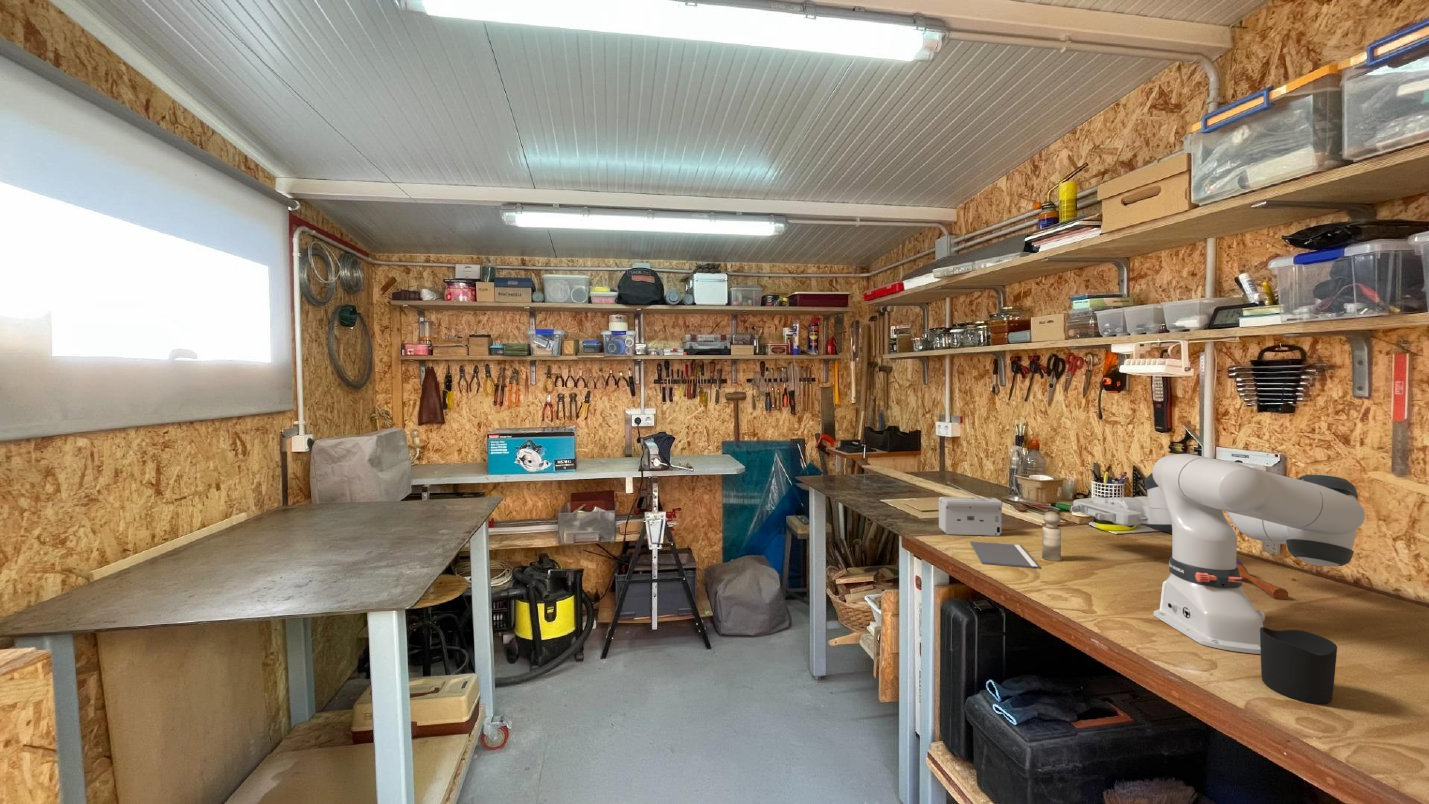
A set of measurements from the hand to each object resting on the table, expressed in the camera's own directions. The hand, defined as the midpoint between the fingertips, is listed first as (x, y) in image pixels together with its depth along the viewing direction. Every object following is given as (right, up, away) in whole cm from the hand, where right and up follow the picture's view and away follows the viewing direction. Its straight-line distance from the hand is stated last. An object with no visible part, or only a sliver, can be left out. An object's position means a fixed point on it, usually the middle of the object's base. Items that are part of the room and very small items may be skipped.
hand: (1084, 512), depth 169 cm
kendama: (+28, -15, -25) cm, 40 cm away
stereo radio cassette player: (-24, -14, +27) cm, 39 cm away
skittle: (-12, -14, -2) cm, 19 cm away
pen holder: (-13, -17, -74) cm, 77 cm away
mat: (-25, -14, +2) cm, 29 cm away
